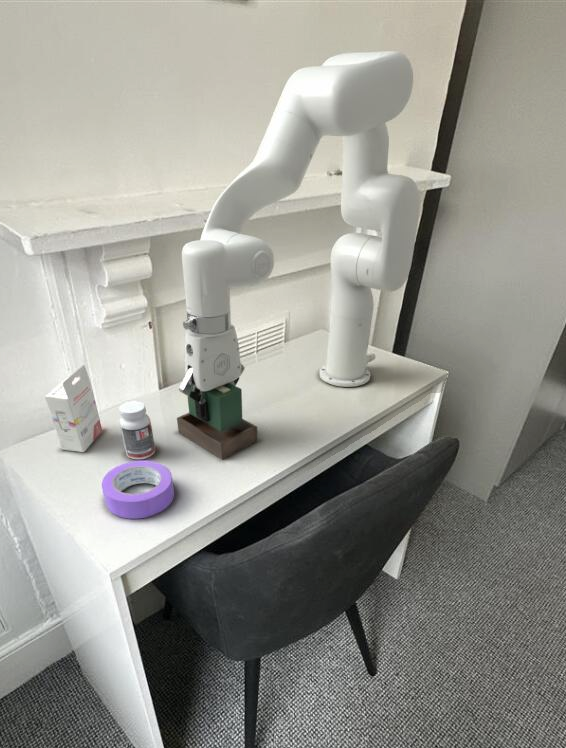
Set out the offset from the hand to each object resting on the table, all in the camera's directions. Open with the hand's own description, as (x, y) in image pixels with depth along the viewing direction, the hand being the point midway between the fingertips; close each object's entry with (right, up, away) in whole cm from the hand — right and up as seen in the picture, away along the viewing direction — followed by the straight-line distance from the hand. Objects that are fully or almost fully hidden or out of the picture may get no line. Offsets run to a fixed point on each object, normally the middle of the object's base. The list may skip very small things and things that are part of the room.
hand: (215, 413), depth 98 cm
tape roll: (-12, -17, -12) cm, 24 cm away
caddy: (0, -4, +4) cm, 5 cm away
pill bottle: (-14, -8, -1) cm, 17 cm away
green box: (0, -1, +1) cm, 1 cm away
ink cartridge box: (-27, -5, +2) cm, 28 cm away
